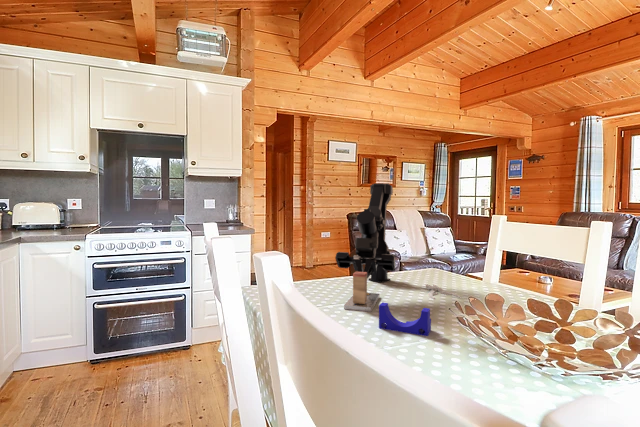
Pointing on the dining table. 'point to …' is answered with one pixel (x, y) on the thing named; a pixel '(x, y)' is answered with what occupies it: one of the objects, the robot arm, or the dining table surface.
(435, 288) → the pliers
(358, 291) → the marker post
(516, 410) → the dining table surface
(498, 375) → the dining table surface
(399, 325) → the blue cradle bracket
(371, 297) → the flange plate
